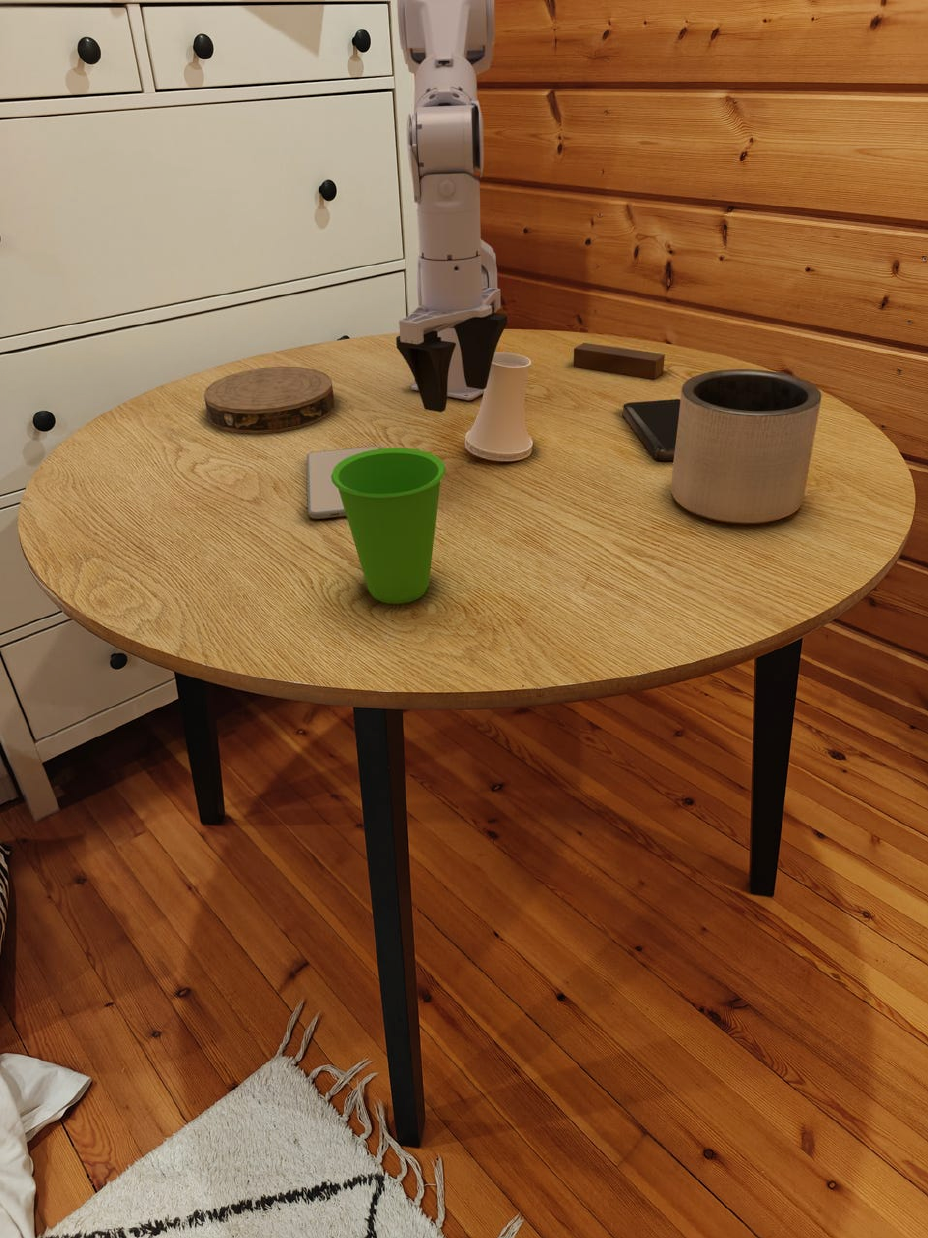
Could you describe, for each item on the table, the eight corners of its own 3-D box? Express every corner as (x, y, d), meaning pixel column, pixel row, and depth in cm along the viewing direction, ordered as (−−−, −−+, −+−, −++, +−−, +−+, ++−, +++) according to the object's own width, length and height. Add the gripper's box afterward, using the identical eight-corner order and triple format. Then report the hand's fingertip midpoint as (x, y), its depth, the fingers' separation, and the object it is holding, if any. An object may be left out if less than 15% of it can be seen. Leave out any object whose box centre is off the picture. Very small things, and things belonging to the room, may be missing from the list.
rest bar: (573, 366, 125) (573, 348, 123) (583, 360, 127) (583, 342, 125) (654, 379, 119) (656, 360, 118) (663, 372, 121) (665, 354, 120)
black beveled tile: (656, 451, 96) (621, 402, 109) (655, 461, 97) (620, 411, 109) (728, 446, 97) (685, 398, 109) (727, 455, 97) (684, 406, 110)
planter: (826, 521, 84) (850, 406, 78) (698, 536, 83) (712, 420, 77) (767, 468, 95) (783, 362, 88) (652, 480, 93) (661, 374, 87)
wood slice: (357, 412, 113) (355, 388, 111) (238, 444, 105) (233, 419, 104) (301, 380, 124) (298, 358, 122) (189, 407, 116) (184, 384, 115)
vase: (497, 467, 96) (508, 376, 91) (450, 442, 101) (458, 354, 95) (545, 452, 101) (558, 364, 95) (498, 429, 105) (508, 344, 100)
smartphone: (307, 513, 88) (306, 451, 100) (309, 522, 88) (307, 459, 100) (393, 505, 88) (381, 444, 101) (394, 514, 89) (381, 452, 101)
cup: (347, 566, 81) (332, 450, 74) (448, 558, 81) (442, 443, 75) (344, 621, 73) (328, 498, 67) (455, 613, 73) (449, 489, 67)
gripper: (442, 273, 76) (449, 427, 83) (526, 243, 86) (526, 383, 94) (376, 266, 80) (388, 415, 87) (465, 238, 90) (469, 374, 97)
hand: (456, 398), depth 90 cm, fingers open, 7 cm apart
